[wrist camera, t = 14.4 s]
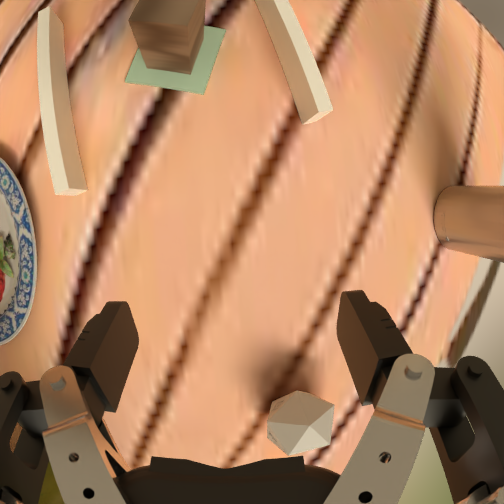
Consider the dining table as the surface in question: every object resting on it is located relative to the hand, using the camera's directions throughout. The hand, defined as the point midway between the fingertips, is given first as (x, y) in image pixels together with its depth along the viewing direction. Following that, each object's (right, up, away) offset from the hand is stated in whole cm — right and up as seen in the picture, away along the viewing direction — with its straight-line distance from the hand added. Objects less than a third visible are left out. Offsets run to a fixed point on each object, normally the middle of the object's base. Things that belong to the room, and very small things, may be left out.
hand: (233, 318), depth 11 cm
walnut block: (-8, +24, +16) cm, 30 cm away
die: (+6, -18, +25) cm, 31 cm away
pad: (-8, +24, +16) cm, 30 cm away
